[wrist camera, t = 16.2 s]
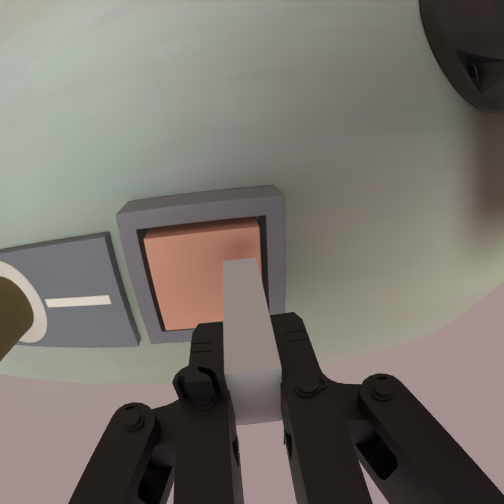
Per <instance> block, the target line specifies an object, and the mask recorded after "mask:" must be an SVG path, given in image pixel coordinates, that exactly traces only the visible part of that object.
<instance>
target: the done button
mask: <svg viewBox="0 0 504 504" xmlns="http://www.w3.org/2000/svg"><path fill="white" fill-rule="evenodd" d="M144 244H145V249H146V254H147V258H148V263H149V267H150V271H151V275H152V280H153V284H154V288H155V292H156V296H157V299H158V303H159V307H160V311H161V314H162V318H163V321H164V325H165V328H166V330H178V329H190V328H196V327H197V325H198V324H199V323H209V322H220V321H223V261H228V260H238V259H247V258H257V263H258V267H259V271H260V276H261V280H262V274H261V254H260V234H259V225H258V223H257V221H256V219H255V216H252V217H241V218H231V219H221V220H212V221H202V222H193V223H184V224H176V225H167V226H159V227H151V228H150V229H149V230H148V232H147V234H146V236H145V237H144Z"/></svg>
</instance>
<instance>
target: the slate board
mask: <svg viewBox="0 0 504 504" xmlns="http://www.w3.org/2000/svg"><path fill="white" fill-rule="evenodd" d="M0 276H1V277H5V278H7V279H10V280H11V281H13V282H14V283H15V284H16V285H17V286H19V288H20V289H21V290H22V291H23V292H24V294H25V295H26V297H27V298H28V300H29V302H30V304H31V307H32V310H33V313H34V322H33V325H32V327H31V328H30V329H29V330H28V331H27V332H26V333H25V334H24V335H23V336H22V337H21V339H20V340H19V341H18V342H17V343H16V344H15V345H26V346H45V347H88V348H94V347H139V343H140V340H141V339H140V336H139V333H138V330H137V327H136V325H135V322H134V319H133V316H132V313H131V310H130V307H129V304H128V300H127V297H126V294H125V291H124V287H123V284H122V281H121V277H120V274H119V270H118V266H117V263H116V259H115V255H114V251H113V247H112V243H111V239H110V235H109V232H106V233H99V234H92V235H85V236H79V237H72V238H66V239H60V240H54V241H47V242H42V243H36V244H30V245H24V246H19V247H13V248H8V249H2V250H0Z"/></svg>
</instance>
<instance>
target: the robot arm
mask: <svg viewBox="0 0 504 504" xmlns="http://www.w3.org/2000/svg"><path fill="white" fill-rule="evenodd" d="M420 7H421V14H422V19H423V23H424V27H425V30H426V33H427V36H428V39H429V42H430V44H431V47H432V49H433V51H434V53H435V55H436V57H437V59H438V61H439V63H440V65H441V67H442V69H443V70H444V72H445V74H446V75H447V77H448V78H449V80H450V81H451V83H452V84H453V85H454V87H455V88H456V89H457V91H458V92H459V93H460V94H461V95H462V96H463V97H464V98H465V99H466V100H467V101H468V102H469V103H470V104H472V105H473V106H475V107H476V108H478V109H480V110H482V111H486V112H492V113H499V114H504V0H420ZM190 353H191V354H190V360H189V365H188V366H187V367H185V368H183V369H181V370H180V371H179V372H178V373H177V374H176V375H175V377H174V379H173V382H172V383H173V385H174V388H175V390H176V393H177V395H178V397H179V399H178V400H176V401H175V402H173V403H171V404H168V405H166V406H162V407H158V408H155V409H151V408H150V407H149V406H147V405H145V404H142V403H134V402H133V403H129V404H125V405H123V406H122V407H120V408H119V409H118V410H117V411H116V412H115V413H114V415H113V417H112V418H111V420H110V422H109V424H108V426H107V428H106V430H105V432H104V433H103V435H102V437H101V439H100V441H99V443H98V445H97V447H96V449H95V451H94V453H93V455H92V456H91V458H90V461H89V462H88V464H87V466H86V468H85V470H84V472H83V474H82V476H81V479H80V480H79V482H78V485H77V487H76V489H75V491H74V493H73V495H72V497H71V499H70V501H69V503H68V504H166V503H167V500H168V497H169V494H170V491H171V488H172V485H173V482H174V504H244V499H243V488H242V477H241V465H240V454H239V442H238V437H237V433H236V425H246V424H255V423H265V422H272V421H279V420H283V425H284V444H286V449H287V454H288V459H289V464H290V470H291V475H292V480H293V485H294V491H295V496H296V501H297V504H373V503H372V500H371V497H370V494H369V491H368V488H367V485H366V482H365V479H364V476H363V473H362V470H361V467H360V464H359V461H360V463H361V464H362V466H363V467H364V468H365V470H366V471H367V473H368V474H369V476H370V477H371V478H372V480H373V481H374V482H375V484H376V485H377V487H378V488H379V490H380V491H381V493H382V494H383V495H384V497H385V498H386V500H387V501H388V502H389V504H504V495H503V494H502V493H501V491H500V490H499V489H498V488H497V487H496V486H495V484H494V483H493V482H492V481H491V480H490V479H489V478H488V477H487V475H486V474H485V473H484V472H483V471H482V470H481V469H480V468H479V466H478V465H477V464H476V463H475V462H474V461H473V460H472V459H471V457H469V455H468V454H467V453H466V452H465V451H464V450H463V449H462V447H461V446H460V445H459V444H458V443H457V442H456V441H455V440H454V439H453V438H452V436H451V435H450V434H449V433H448V432H447V431H446V430H445V429H444V428H443V427H442V425H441V424H440V423H439V422H438V421H437V420H436V419H435V418H434V417H433V416H432V415H431V414H430V412H428V410H427V409H426V408H425V407H424V406H423V405H422V404H421V403H420V402H419V401H418V400H417V398H416V397H415V396H414V395H413V394H412V393H411V392H410V391H409V390H408V389H407V388H406V387H405V386H404V385H403V384H402V383H401V381H399V380H398V379H396V378H395V377H394V376H391V375H388V374H374V375H372V376H369V377H368V378H366V379H365V380H364V381H363V383H362V384H343V383H337V382H334V381H332V380H330V379H329V378H327V377H326V376H325V375H324V374H323V373H322V371H321V369H320V367H319V364H318V361H317V359H316V356H315V353H314V350H313V347H312V345H311V342H310V340H309V336H308V334H307V331H306V328H305V325H304V323H303V320H302V319H301V318H300V317H299V316H298V315H297V314H295V313H294V312H290V313H283V314H275V315H269V311H268V306H267V302H266V297H265V293H264V289H263V284H262V280H261V276H260V271H259V267H258V263H257V258H247V259H238V260H228V261H223V321H220V322H209V323H199V324H198V325H197V327H196V328H195V330H194V331H193V333H192V341H191V350H190ZM358 460H359V461H358Z"/></svg>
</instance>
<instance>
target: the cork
mask: <svg viewBox="0 0 504 504" xmlns="http://www.w3.org/2000/svg"><path fill="white" fill-rule="evenodd" d="M33 322H34V313H33V310H32V307H31V304H30V302H29V300H28V298H27V297H26V295H25V294H24V292H23V291H22V290H21V289H20V288H19V286H17V285H16V284H15V283H14V282H13V281H11V280H10V279H7V278H5V277H1V276H0V361H1V360H2V359H3V358H4V356H5V355H6V354H7V353H8V352H9V351H10V350H11V348H12V347H13V346H14V345H15V344H16V343H17V342H18V341H19V340H20V339H21V337H22V336H23V335H24V334H25V333H26V332H27V331H28V330H29V329H30V328H31V327H32V325H33Z"/></svg>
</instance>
